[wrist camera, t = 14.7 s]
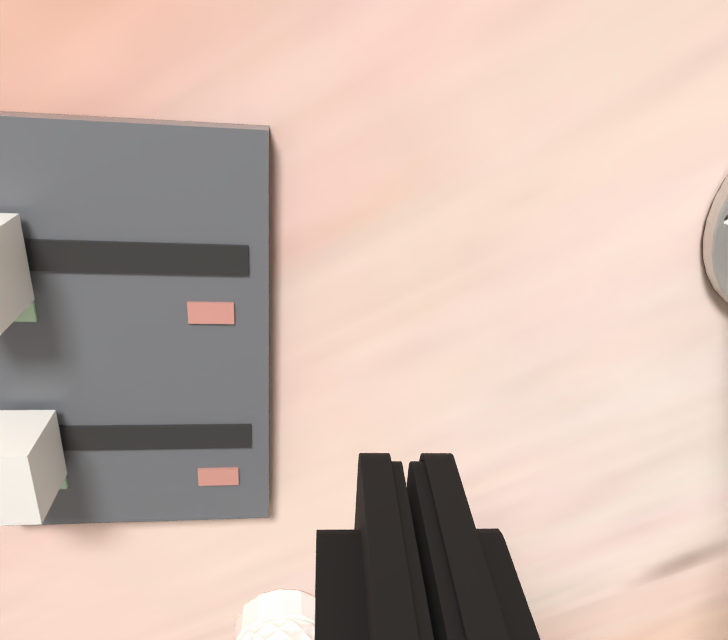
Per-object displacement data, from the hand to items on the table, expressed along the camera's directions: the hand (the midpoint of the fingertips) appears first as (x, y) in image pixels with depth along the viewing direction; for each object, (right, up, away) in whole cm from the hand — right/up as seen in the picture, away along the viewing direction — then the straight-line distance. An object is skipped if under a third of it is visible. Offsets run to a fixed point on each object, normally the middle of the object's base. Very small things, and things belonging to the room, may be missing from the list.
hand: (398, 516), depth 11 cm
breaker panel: (-14, +2, +23) cm, 27 cm away
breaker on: (-19, -3, +23) cm, 30 cm away
